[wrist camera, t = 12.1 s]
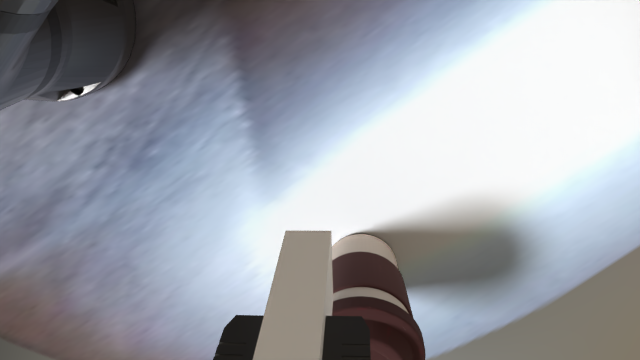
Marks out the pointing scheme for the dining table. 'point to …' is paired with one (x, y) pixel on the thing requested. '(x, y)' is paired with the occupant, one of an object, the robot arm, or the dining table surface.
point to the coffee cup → (375, 296)
